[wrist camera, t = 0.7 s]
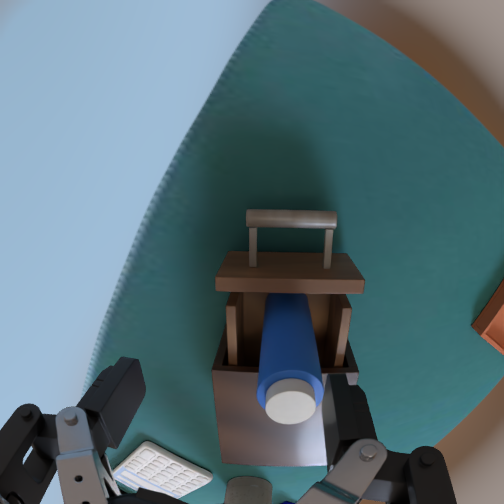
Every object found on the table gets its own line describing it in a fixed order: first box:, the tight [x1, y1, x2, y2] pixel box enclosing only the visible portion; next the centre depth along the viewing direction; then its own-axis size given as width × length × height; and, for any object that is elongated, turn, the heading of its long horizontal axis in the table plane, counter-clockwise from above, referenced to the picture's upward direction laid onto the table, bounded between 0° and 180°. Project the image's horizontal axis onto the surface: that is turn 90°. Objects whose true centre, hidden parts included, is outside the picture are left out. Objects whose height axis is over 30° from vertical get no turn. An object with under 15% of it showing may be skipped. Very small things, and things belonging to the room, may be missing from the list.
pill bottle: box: [256, 293, 324, 424], centre depth 23 cm, size 4×4×14 cm
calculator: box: [112, 441, 213, 499], centre depth 44 cm, size 13×20×2 cm, turn 143°
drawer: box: [215, 209, 365, 368], centre depth 28 cm, size 18×11×7 cm, turn 0°
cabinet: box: [212, 323, 359, 466], centre depth 31 cm, size 15×13×9 cm
